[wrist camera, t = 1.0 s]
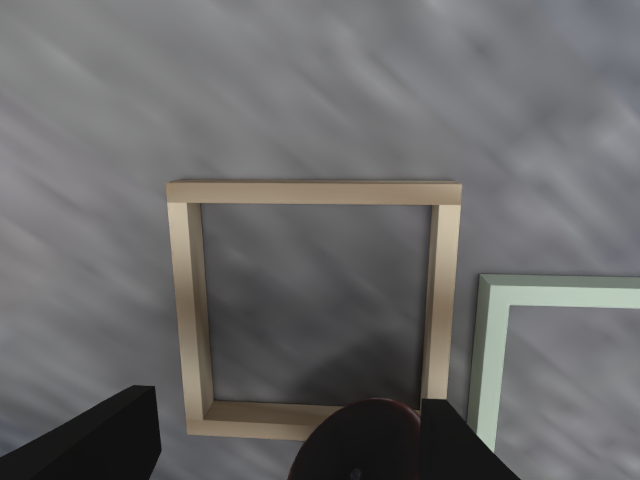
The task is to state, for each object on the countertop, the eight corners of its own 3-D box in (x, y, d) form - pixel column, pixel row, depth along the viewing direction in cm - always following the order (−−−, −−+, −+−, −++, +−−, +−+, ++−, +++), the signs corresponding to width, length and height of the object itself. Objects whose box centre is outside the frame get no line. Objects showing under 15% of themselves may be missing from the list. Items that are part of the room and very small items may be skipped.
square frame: (710, 513, 20) (739, 542, 18) (460, 497, 21) (468, 524, 19) (769, 280, 17) (808, 292, 16) (479, 274, 18) (490, 285, 17)
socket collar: (436, 425, 20) (442, 448, 18) (199, 413, 21) (187, 434, 19) (453, 180, 17) (462, 183, 16) (180, 179, 18) (165, 182, 17)
